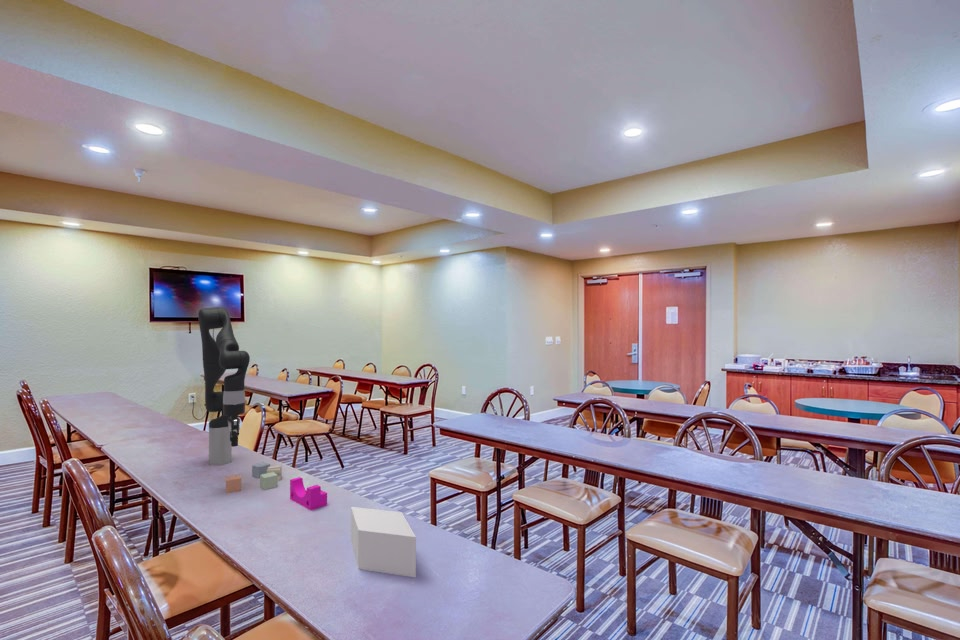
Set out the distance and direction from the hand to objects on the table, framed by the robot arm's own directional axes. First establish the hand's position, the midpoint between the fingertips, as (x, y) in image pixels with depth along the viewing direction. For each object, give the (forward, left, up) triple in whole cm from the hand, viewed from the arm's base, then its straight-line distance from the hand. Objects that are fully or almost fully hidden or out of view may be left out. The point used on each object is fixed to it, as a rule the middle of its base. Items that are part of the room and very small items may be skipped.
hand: (233, 443), depth 171 cm
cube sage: (+4, +12, -18) cm, 22 cm away
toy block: (+28, +22, -18) cm, 40 cm away
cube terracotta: (0, 0, -18) cm, 18 cm away
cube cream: (-4, +15, -18) cm, 24 cm away
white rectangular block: (+79, +31, -18) cm, 87 cm away
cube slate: (-12, +11, -18) cm, 24 cm away
